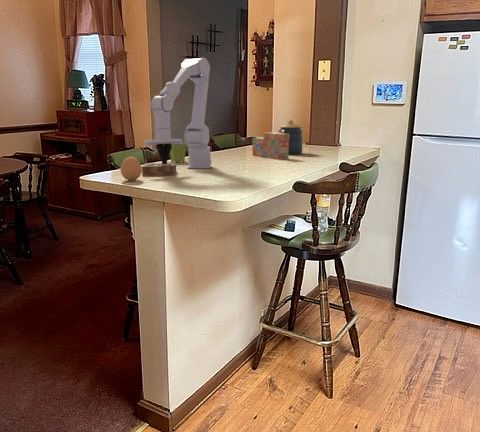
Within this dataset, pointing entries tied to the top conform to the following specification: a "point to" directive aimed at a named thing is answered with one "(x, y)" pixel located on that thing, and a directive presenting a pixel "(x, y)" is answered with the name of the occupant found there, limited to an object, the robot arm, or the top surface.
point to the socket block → (158, 169)
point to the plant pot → (178, 152)
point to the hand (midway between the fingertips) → (164, 163)
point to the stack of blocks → (271, 145)
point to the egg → (131, 168)
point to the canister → (293, 136)
